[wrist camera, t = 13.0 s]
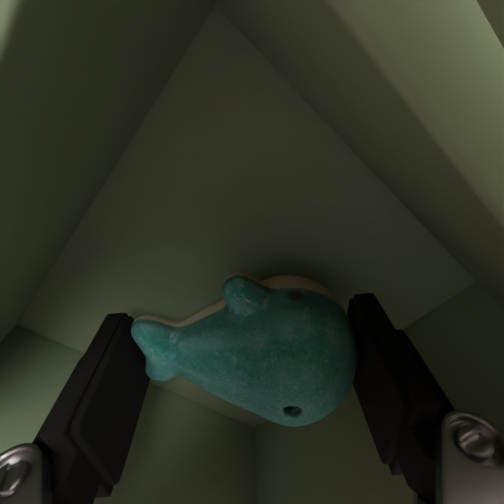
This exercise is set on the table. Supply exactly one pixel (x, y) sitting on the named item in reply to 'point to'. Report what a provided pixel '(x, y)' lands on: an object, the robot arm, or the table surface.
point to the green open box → (248, 211)
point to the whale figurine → (260, 348)
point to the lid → (494, 16)
